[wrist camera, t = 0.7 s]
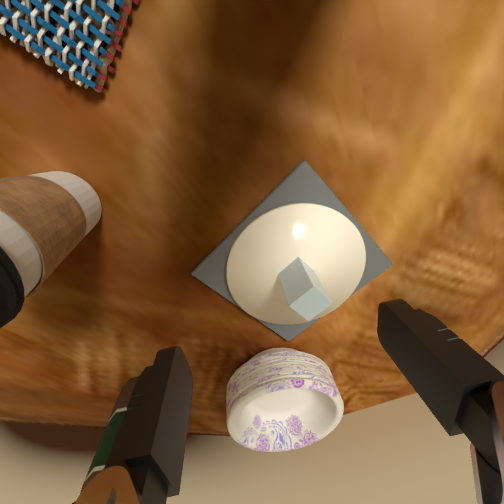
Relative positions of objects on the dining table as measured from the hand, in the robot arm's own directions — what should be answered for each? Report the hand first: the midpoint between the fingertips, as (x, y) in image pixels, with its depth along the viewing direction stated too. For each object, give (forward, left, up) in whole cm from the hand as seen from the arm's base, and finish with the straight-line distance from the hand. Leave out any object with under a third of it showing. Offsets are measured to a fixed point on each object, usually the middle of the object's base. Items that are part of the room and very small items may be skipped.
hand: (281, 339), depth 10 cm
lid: (+2, +9, -17) cm, 19 cm away
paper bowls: (+16, +21, -18) cm, 32 cm away
